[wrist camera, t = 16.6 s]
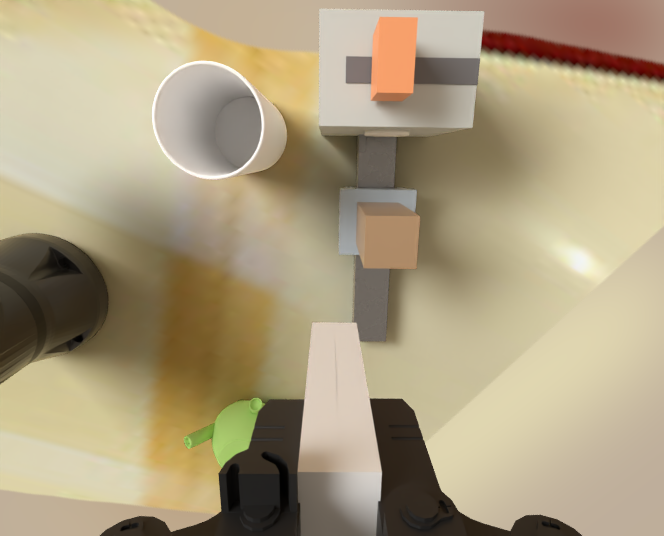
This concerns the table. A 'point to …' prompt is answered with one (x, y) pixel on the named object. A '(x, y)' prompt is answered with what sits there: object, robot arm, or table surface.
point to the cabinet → (429, 76)
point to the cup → (216, 122)
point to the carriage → (379, 226)
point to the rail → (368, 282)
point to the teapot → (229, 430)
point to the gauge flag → (393, 58)
